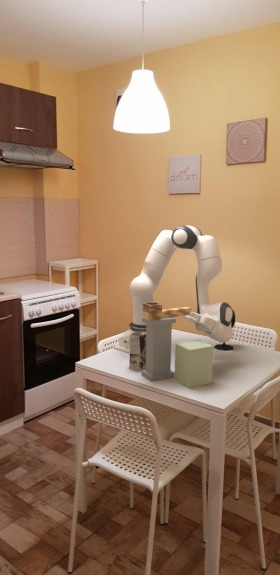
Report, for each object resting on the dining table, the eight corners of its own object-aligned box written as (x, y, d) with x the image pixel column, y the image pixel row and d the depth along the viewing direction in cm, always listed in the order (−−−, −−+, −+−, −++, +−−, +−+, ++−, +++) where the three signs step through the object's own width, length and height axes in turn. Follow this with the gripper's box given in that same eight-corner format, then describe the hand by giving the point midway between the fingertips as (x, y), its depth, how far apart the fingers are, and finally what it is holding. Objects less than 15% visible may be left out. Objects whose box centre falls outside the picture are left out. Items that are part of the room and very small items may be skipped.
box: (197, 375, 195) (198, 339, 193) (211, 382, 187) (213, 346, 184) (174, 379, 190) (175, 343, 187) (188, 387, 181) (189, 350, 178)
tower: (164, 370, 200) (165, 314, 196) (174, 376, 193) (176, 318, 189) (141, 375, 194) (142, 317, 190) (150, 381, 187) (151, 321, 183)
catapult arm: (185, 312, 199) (185, 298, 198) (193, 315, 194) (193, 301, 193) (142, 317, 189) (142, 302, 188) (149, 320, 183) (149, 305, 182)
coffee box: (141, 371, 199) (141, 336, 196) (128, 368, 202) (129, 334, 199) (150, 365, 207) (151, 331, 204) (138, 362, 210) (139, 329, 207)
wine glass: (219, 343, 243) (221, 307, 239) (237, 347, 237) (239, 310, 233) (210, 347, 235) (211, 310, 231) (228, 351, 228) (230, 313, 225)
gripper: (194, 312, 211) (173, 300, 204) (222, 322, 194) (200, 309, 187) (188, 324, 211) (167, 312, 204) (216, 335, 193) (194, 322, 186)
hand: (183, 311), depth 195 cm, fingers open, 8 cm apart
